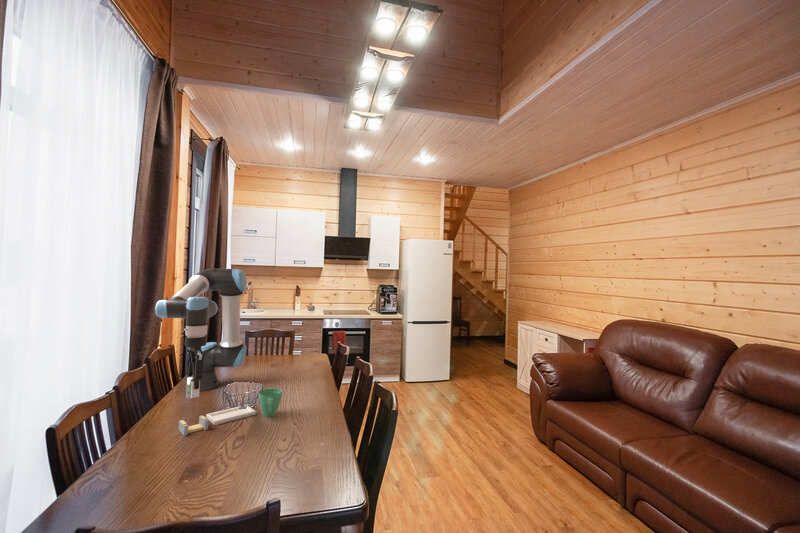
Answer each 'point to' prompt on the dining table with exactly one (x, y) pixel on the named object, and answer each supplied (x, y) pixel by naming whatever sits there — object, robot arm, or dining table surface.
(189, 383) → the cell
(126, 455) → the dining table surface
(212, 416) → the tray
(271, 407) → the mug
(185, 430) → the cradle
